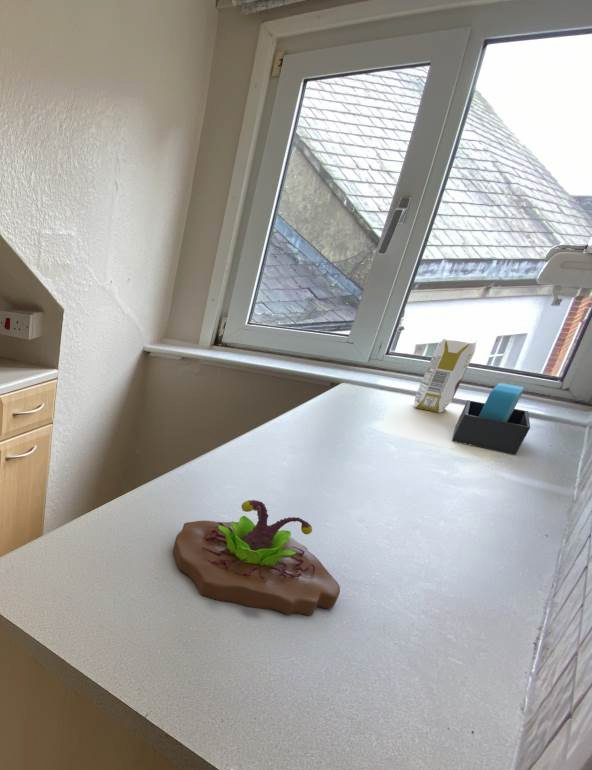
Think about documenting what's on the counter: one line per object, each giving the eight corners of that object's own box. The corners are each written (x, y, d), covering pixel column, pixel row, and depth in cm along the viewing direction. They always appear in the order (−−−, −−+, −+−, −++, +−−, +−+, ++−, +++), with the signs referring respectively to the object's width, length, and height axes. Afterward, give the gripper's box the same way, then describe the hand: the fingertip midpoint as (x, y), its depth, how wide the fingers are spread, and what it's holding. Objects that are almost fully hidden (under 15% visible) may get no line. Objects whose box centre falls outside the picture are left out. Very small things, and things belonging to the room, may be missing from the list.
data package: (477, 428, 136) (500, 381, 131) (501, 434, 133) (525, 386, 128) (467, 438, 129) (491, 389, 124) (492, 444, 126) (518, 394, 121)
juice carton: (409, 407, 152) (439, 338, 144) (415, 401, 158) (444, 334, 149) (443, 414, 147) (476, 343, 139) (449, 408, 153) (480, 340, 144)
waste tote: (514, 437, 133) (528, 411, 131) (515, 455, 123) (530, 427, 120) (455, 424, 140) (467, 400, 137) (451, 440, 129) (464, 414, 126)
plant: (158, 527, 88) (173, 463, 83) (284, 537, 86) (307, 474, 81) (195, 607, 70) (217, 533, 65) (354, 623, 68) (390, 548, 64)
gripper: (552, 243, 129) (523, 303, 135) (685, 249, 117) (646, 315, 123) (551, 242, 133) (522, 301, 139) (679, 249, 121) (642, 313, 127)
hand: (581, 308), depth 131 cm, fingers open, 8 cm apart
